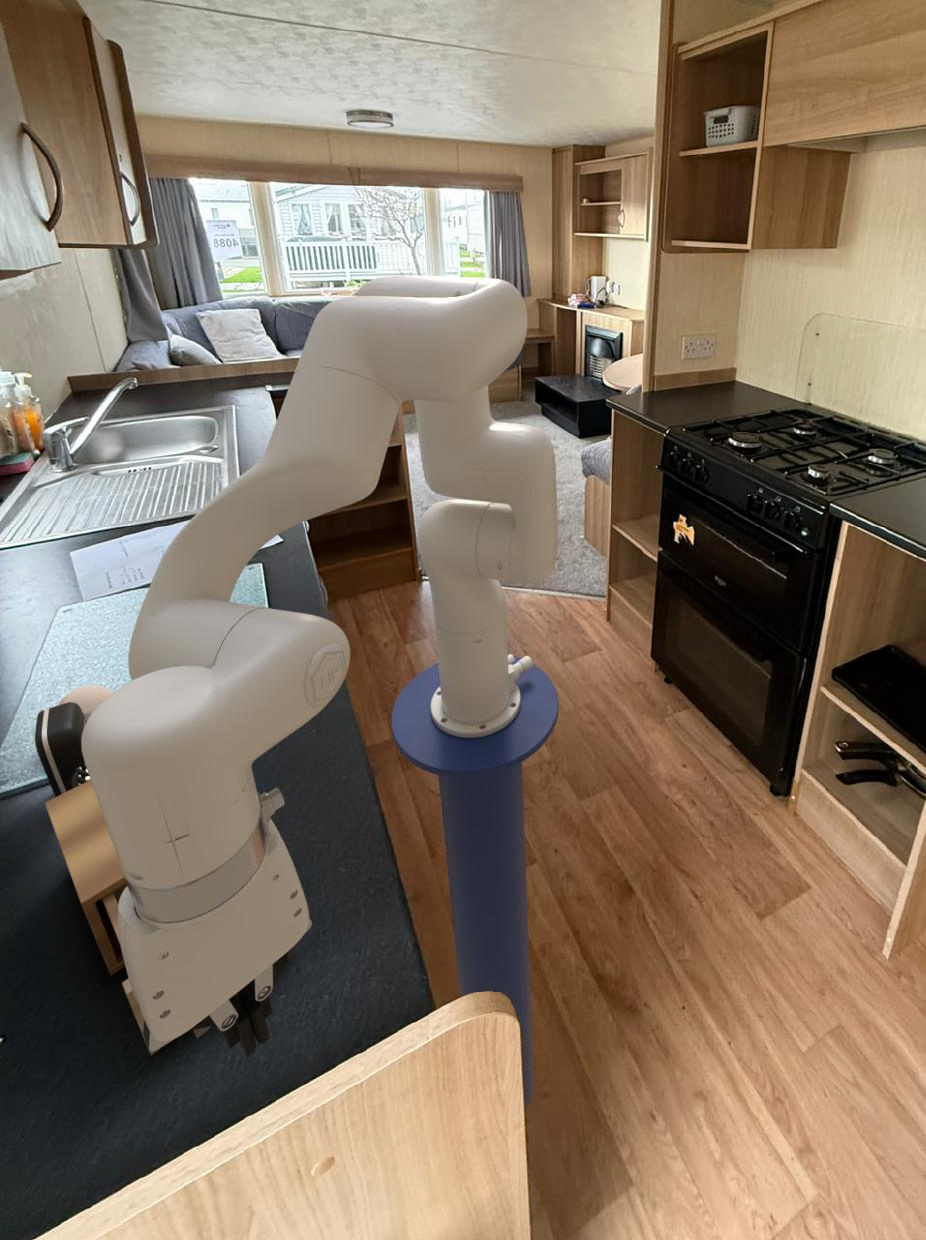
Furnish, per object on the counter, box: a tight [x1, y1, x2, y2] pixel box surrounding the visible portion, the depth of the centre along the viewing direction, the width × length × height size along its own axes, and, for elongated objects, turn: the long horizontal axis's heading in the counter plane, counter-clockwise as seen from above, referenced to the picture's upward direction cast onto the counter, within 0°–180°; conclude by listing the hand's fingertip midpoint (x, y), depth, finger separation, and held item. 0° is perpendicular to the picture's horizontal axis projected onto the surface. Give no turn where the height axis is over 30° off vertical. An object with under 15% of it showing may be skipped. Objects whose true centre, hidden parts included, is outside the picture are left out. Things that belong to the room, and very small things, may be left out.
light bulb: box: [58, 684, 115, 721], centre depth 83 cm, size 7×7×11 cm
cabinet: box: [44, 780, 126, 977], centre depth 63 cm, size 15×13×10 cm
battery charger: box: [34, 702, 91, 798], centre depth 72 cm, size 7×4×11 cm, turn 36°
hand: (250, 1032), depth 46 cm, fingers closed
